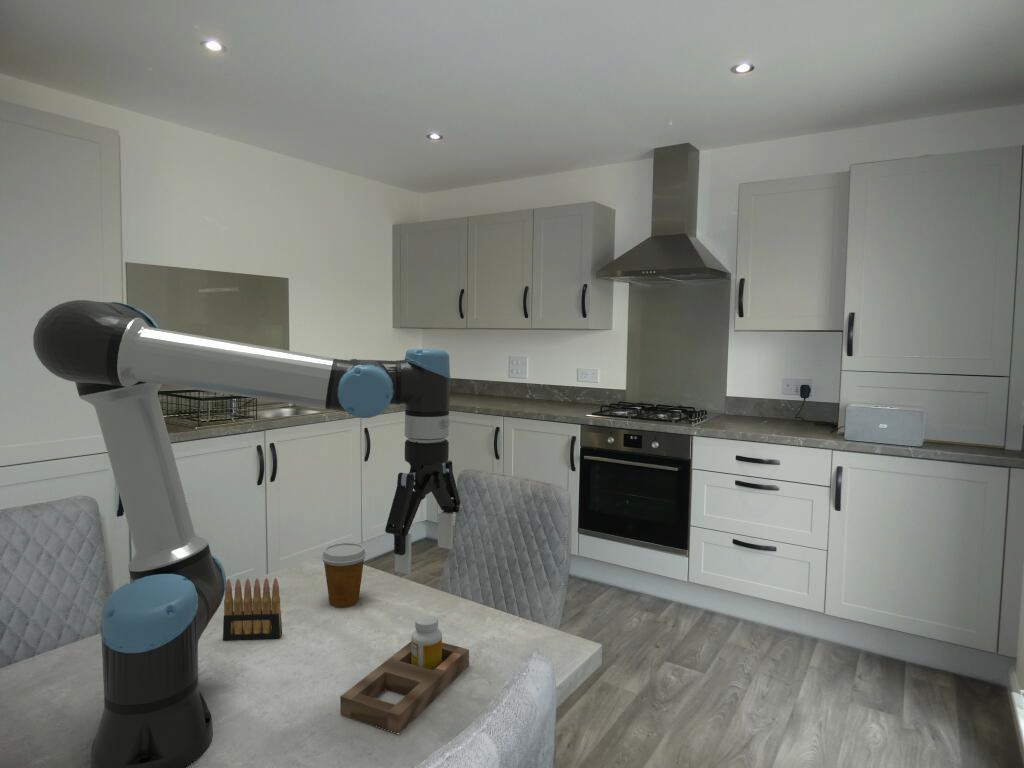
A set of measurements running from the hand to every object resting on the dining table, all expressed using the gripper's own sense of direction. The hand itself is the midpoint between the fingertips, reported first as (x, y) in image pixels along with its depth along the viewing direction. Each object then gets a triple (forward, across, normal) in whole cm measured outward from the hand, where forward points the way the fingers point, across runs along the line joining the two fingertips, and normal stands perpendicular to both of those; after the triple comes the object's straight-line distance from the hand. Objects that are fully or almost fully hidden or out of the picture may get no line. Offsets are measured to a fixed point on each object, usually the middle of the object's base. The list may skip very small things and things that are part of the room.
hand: (425, 559), depth 110 cm
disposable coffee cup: (+21, +17, +32) cm, 41 cm away
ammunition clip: (+21, -4, +36) cm, 42 cm away
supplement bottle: (+21, 0, 0) cm, 21 cm away
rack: (+21, -5, 0) cm, 21 cm away
